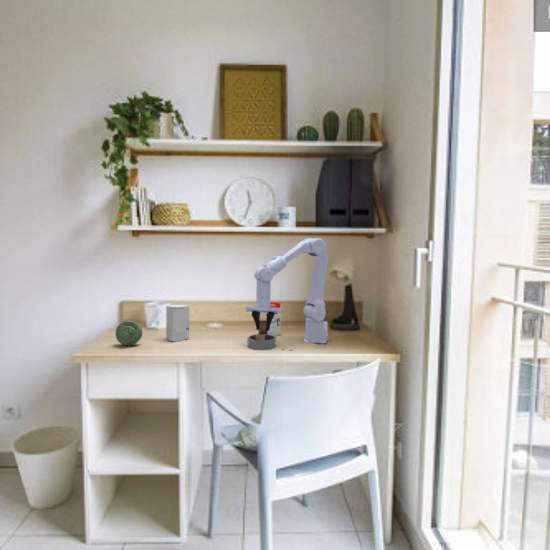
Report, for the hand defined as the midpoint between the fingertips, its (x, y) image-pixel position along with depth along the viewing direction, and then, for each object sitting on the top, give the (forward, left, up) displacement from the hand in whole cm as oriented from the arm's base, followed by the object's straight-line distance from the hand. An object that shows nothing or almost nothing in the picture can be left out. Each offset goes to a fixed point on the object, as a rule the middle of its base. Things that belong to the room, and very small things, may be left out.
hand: (263, 329), depth 168 cm
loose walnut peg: (0, 0, -1) cm, 1 cm away
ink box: (+2, -21, -7) cm, 22 cm away
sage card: (-11, +5, -7) cm, 14 cm away
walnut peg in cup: (0, +4, -6) cm, 8 cm away
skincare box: (+38, -1, -7) cm, 39 cm away
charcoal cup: (0, +2, -7) cm, 7 cm away
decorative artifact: (+52, +15, -7) cm, 55 cm away
